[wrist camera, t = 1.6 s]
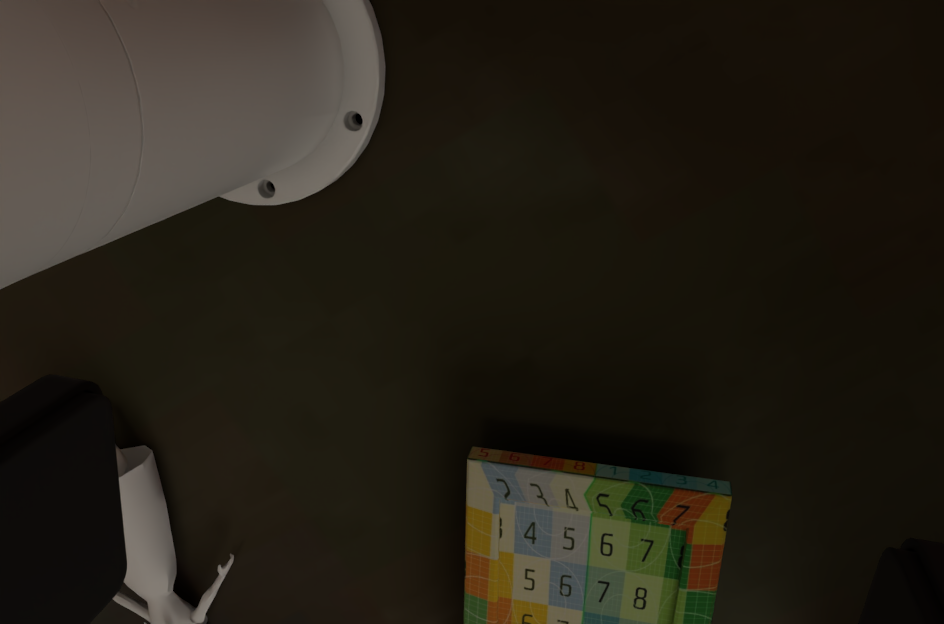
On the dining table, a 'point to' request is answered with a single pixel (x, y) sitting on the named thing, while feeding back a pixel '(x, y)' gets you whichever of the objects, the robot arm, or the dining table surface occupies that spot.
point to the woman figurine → (153, 545)
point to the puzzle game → (589, 542)
